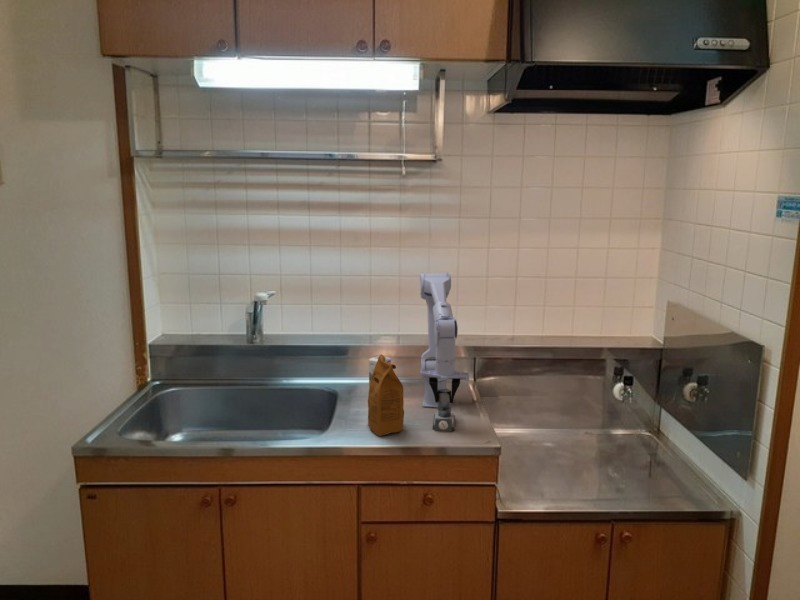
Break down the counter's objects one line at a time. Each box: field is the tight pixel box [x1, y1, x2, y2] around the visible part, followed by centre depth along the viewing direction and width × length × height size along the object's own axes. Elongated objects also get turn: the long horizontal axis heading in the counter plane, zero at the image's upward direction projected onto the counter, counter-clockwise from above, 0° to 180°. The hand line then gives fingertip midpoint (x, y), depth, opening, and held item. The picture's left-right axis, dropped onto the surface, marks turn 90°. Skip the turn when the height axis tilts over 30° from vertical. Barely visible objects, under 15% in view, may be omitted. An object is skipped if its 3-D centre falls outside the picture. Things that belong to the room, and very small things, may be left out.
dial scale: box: [432, 411, 456, 433], centre depth 181 cm, size 11×7×4 cm, turn 173°
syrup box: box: [368, 355, 392, 388], centre depth 201 cm, size 6×6×14 cm
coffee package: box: [367, 354, 405, 437], centre depth 176 cm, size 10×12×22 cm
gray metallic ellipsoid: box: [437, 408, 452, 418], centre depth 183 cm, size 4×4×6 cm
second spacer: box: [437, 388, 452, 411], centre depth 178 cm, size 4×4×6 cm
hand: (444, 401), depth 178 cm, fingers closed on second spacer, 4 cm apart
